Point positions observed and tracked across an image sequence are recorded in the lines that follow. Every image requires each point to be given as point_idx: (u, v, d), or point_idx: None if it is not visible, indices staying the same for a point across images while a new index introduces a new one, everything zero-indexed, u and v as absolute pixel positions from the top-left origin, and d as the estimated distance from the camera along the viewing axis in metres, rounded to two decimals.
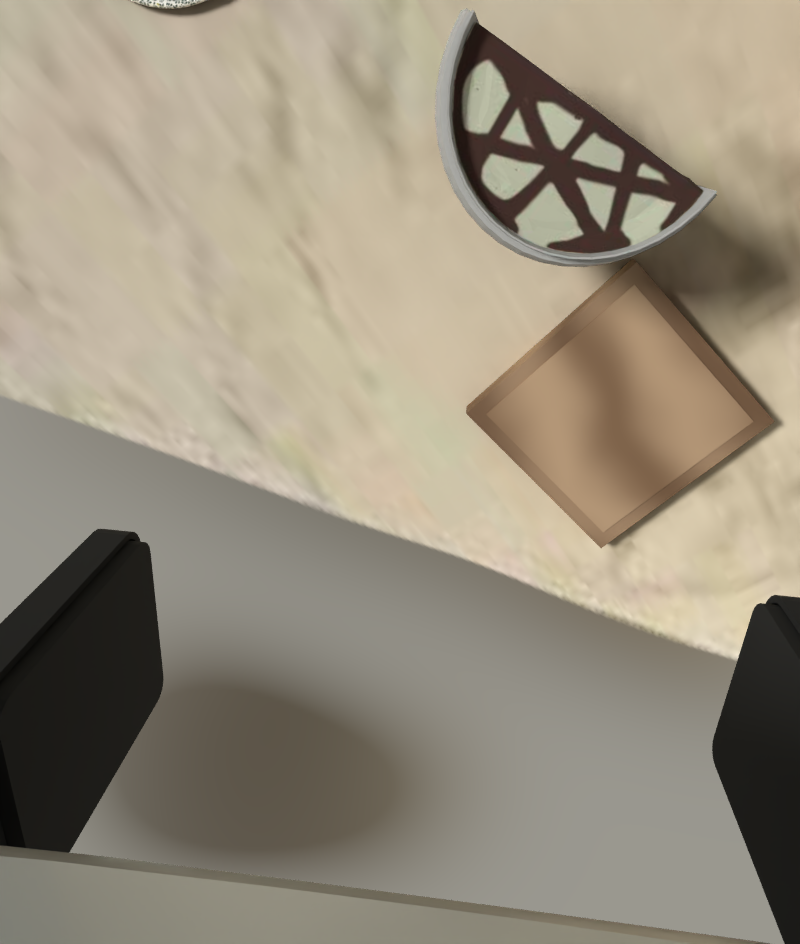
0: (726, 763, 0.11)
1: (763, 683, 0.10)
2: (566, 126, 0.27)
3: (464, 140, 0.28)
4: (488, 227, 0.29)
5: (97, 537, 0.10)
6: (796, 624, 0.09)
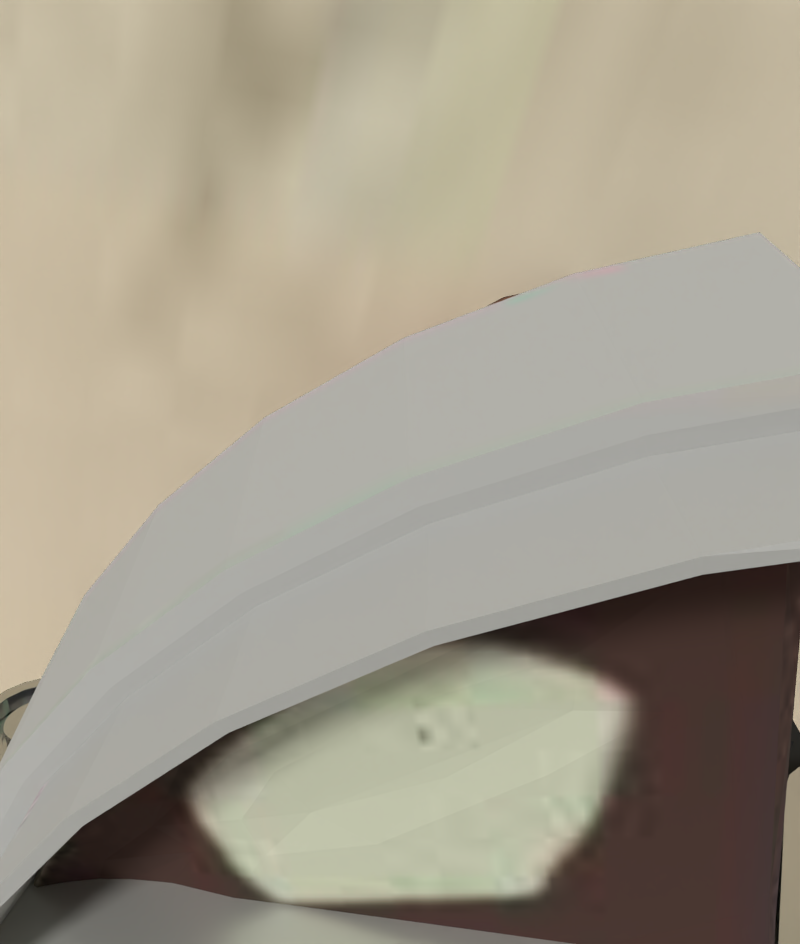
0: None
1: None
2: None
3: (138, 827, 0.04)
4: None
5: None
6: None
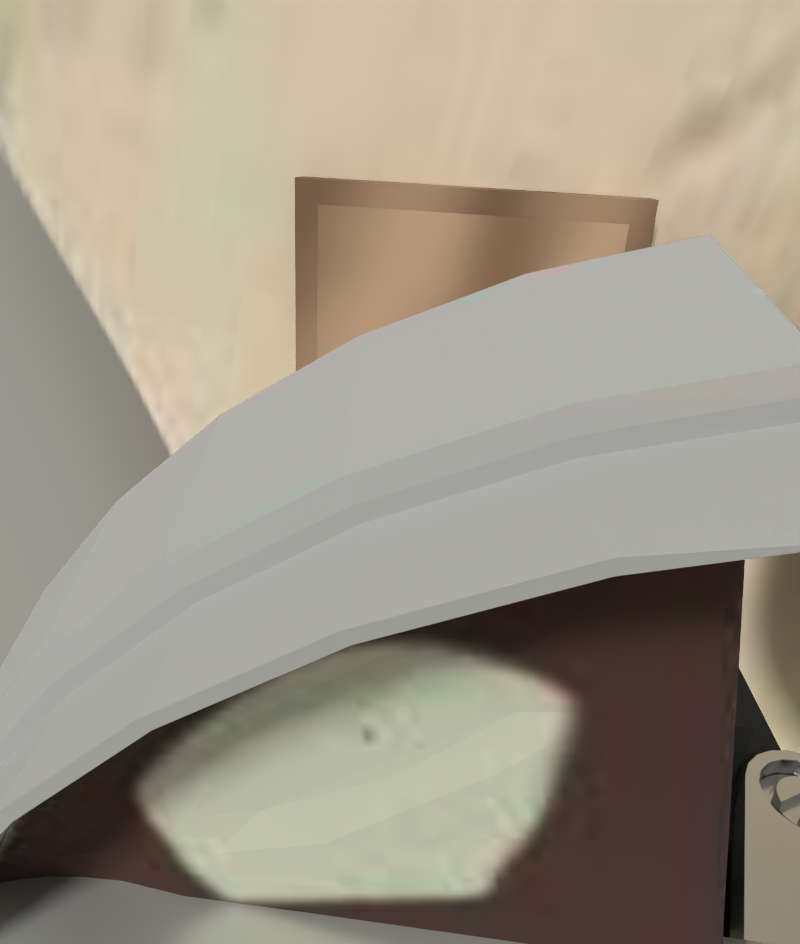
0: None
1: None
2: None
3: (88, 824, 0.04)
4: None
5: None
6: None
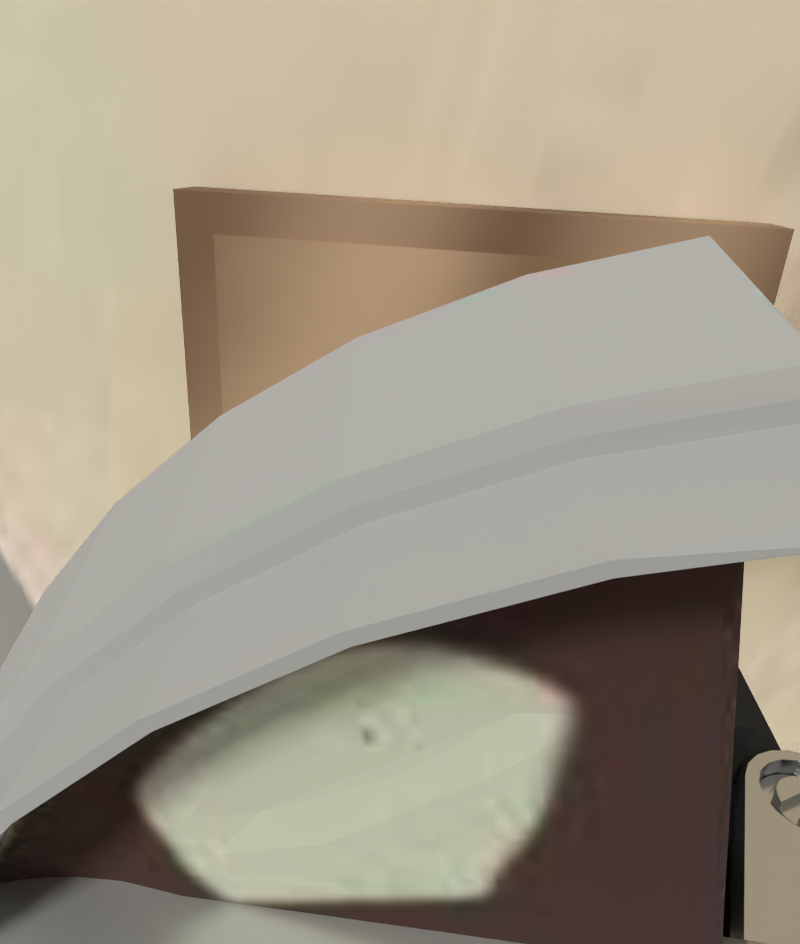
0: None
1: None
2: None
3: (87, 825, 0.04)
4: None
5: None
6: None
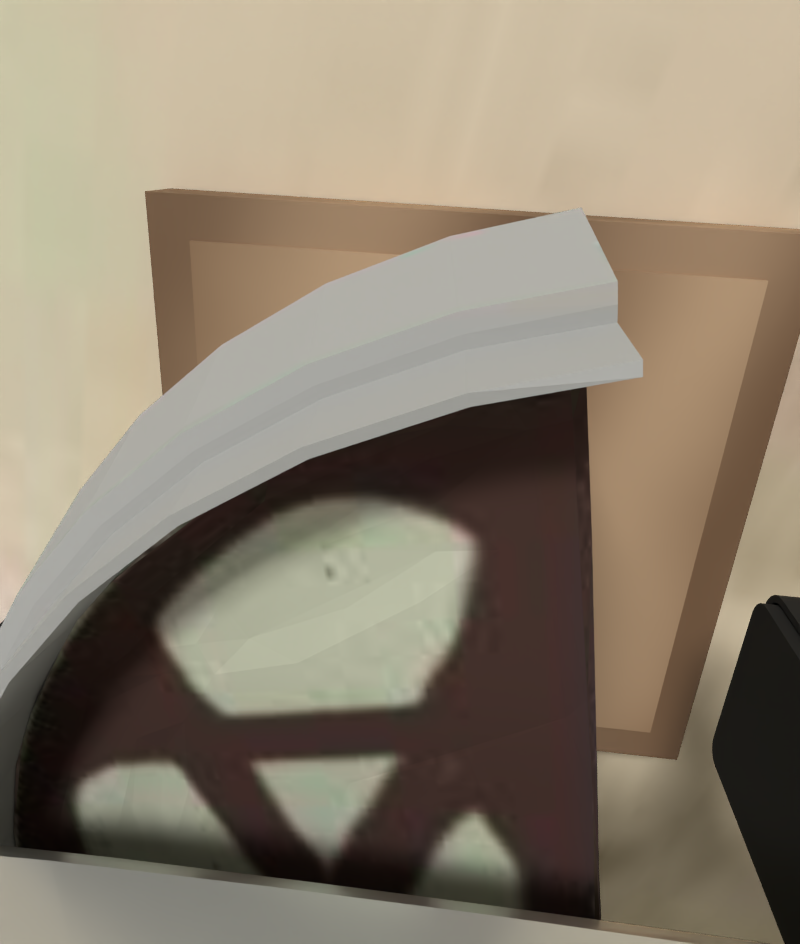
0: (726, 762, 0.11)
1: (763, 683, 0.10)
2: None
3: (119, 652, 0.05)
4: None
5: None
6: (796, 624, 0.09)
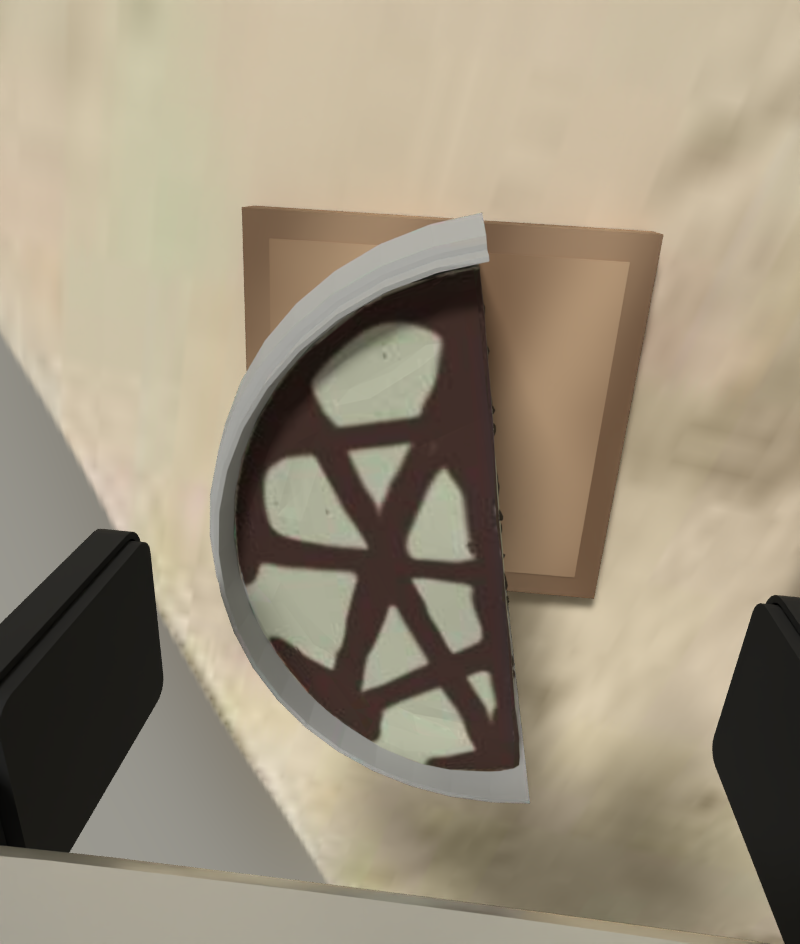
0: (725, 763, 0.11)
1: (763, 683, 0.10)
2: (446, 541, 0.14)
3: (294, 397, 0.13)
4: (212, 539, 0.14)
5: (97, 537, 0.10)
6: (796, 624, 0.09)
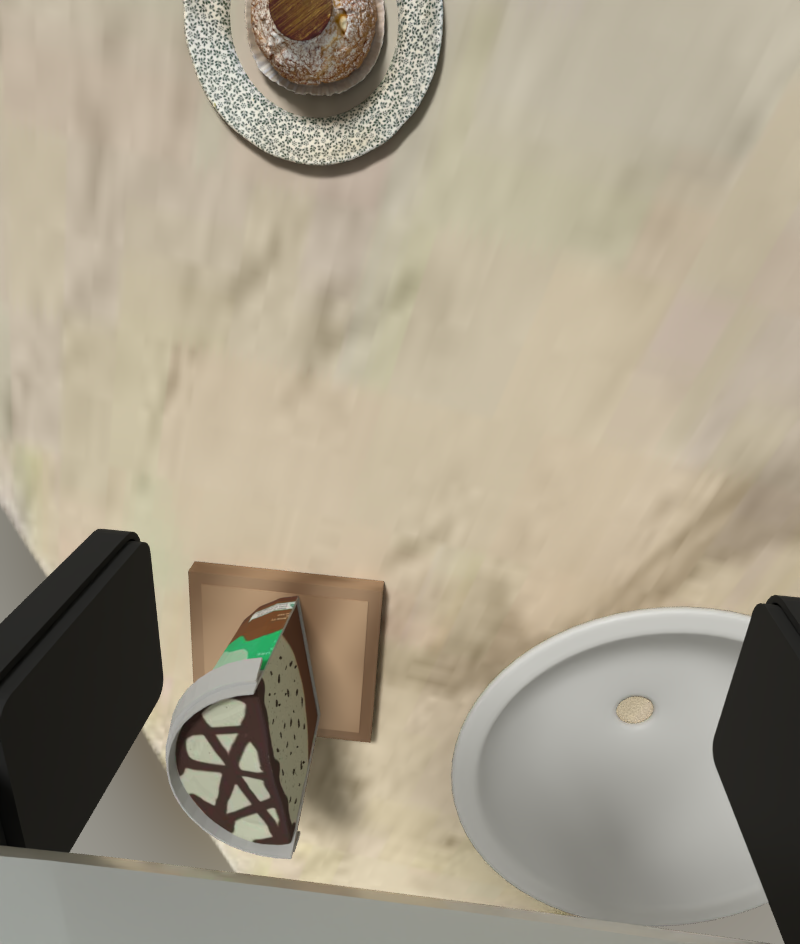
0: (726, 762, 0.11)
1: (763, 683, 0.10)
2: (252, 765, 0.37)
3: (195, 717, 0.36)
4: (166, 760, 0.37)
5: (97, 537, 0.10)
6: (796, 624, 0.09)
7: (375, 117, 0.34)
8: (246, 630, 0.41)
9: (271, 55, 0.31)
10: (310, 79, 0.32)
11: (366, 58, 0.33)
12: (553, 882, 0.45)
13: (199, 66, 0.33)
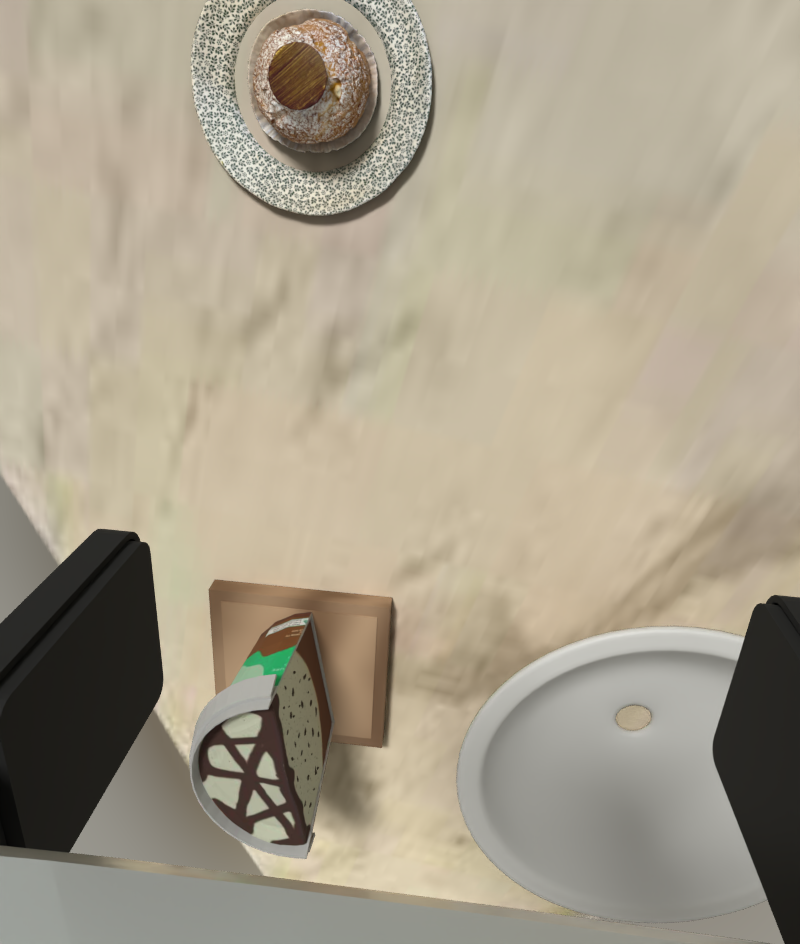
0: (725, 762, 0.11)
1: (763, 683, 0.10)
2: (269, 773, 0.40)
3: (216, 729, 0.39)
4: None
5: (97, 537, 0.10)
6: (796, 624, 0.09)
7: (371, 170, 0.36)
8: (263, 645, 0.44)
9: (272, 120, 0.34)
10: (309, 139, 0.35)
11: (361, 116, 0.35)
12: (556, 881, 0.48)
13: (207, 128, 0.36)
